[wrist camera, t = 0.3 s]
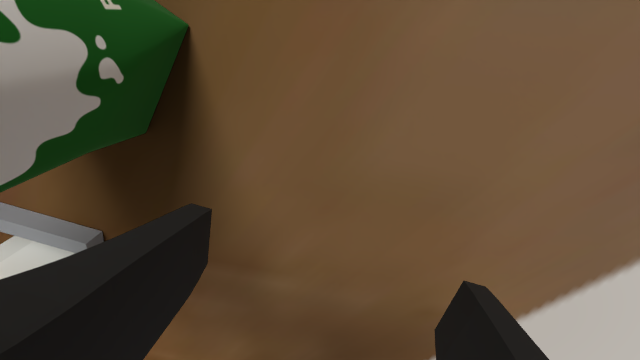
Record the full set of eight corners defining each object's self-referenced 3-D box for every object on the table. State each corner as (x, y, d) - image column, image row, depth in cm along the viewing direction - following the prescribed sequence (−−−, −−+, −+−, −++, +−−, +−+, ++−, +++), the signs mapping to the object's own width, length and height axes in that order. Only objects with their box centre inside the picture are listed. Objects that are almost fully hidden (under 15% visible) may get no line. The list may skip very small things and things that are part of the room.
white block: (113, 305, 27) (62, 360, 23) (30, 280, 27) (-37, 330, 23) (107, 250, 24) (47, 301, 20) (14, 224, 25) (-66, 268, 20)
